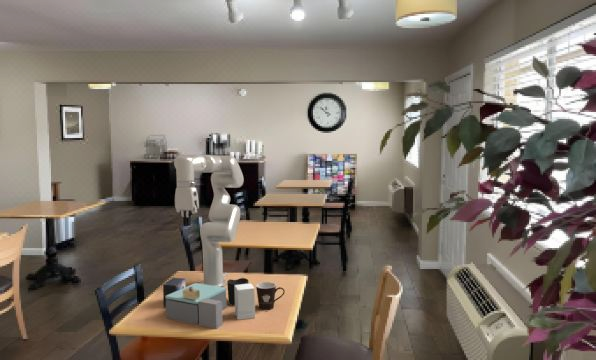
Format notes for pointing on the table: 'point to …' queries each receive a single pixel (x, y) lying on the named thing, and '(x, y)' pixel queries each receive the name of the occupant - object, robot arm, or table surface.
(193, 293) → the latch bolt
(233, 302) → the pen holder
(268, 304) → the coffee mug
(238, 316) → the supplement box
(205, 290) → the lid
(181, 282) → the small box
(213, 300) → the storage box
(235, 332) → the table surface
